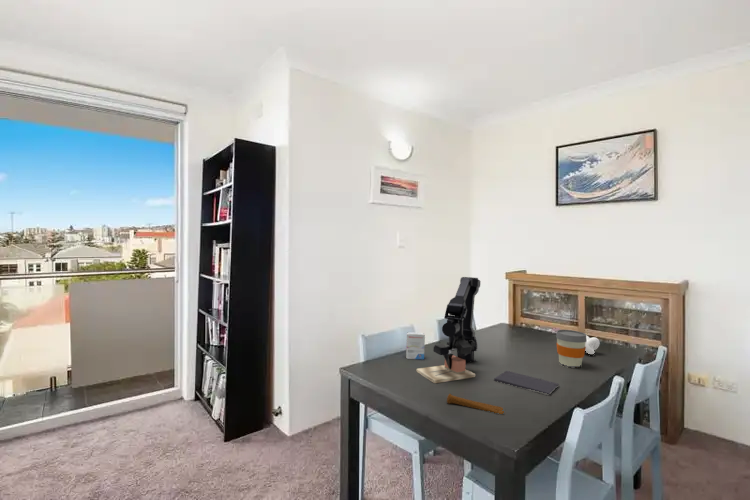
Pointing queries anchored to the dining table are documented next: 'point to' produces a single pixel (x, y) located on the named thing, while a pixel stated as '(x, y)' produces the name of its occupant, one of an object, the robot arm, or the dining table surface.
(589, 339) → the white rounded figurine
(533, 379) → the notebook
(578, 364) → the reusable coffee cup
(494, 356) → the dining table surface
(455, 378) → the board
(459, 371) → the block
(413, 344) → the ink box
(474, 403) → the primitive tool
